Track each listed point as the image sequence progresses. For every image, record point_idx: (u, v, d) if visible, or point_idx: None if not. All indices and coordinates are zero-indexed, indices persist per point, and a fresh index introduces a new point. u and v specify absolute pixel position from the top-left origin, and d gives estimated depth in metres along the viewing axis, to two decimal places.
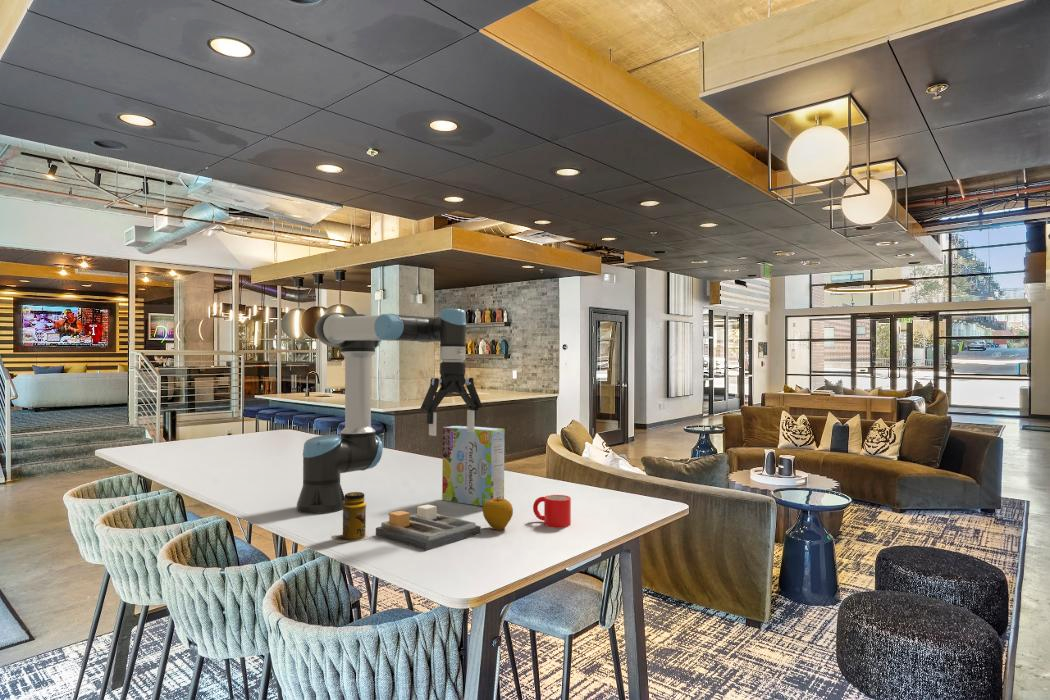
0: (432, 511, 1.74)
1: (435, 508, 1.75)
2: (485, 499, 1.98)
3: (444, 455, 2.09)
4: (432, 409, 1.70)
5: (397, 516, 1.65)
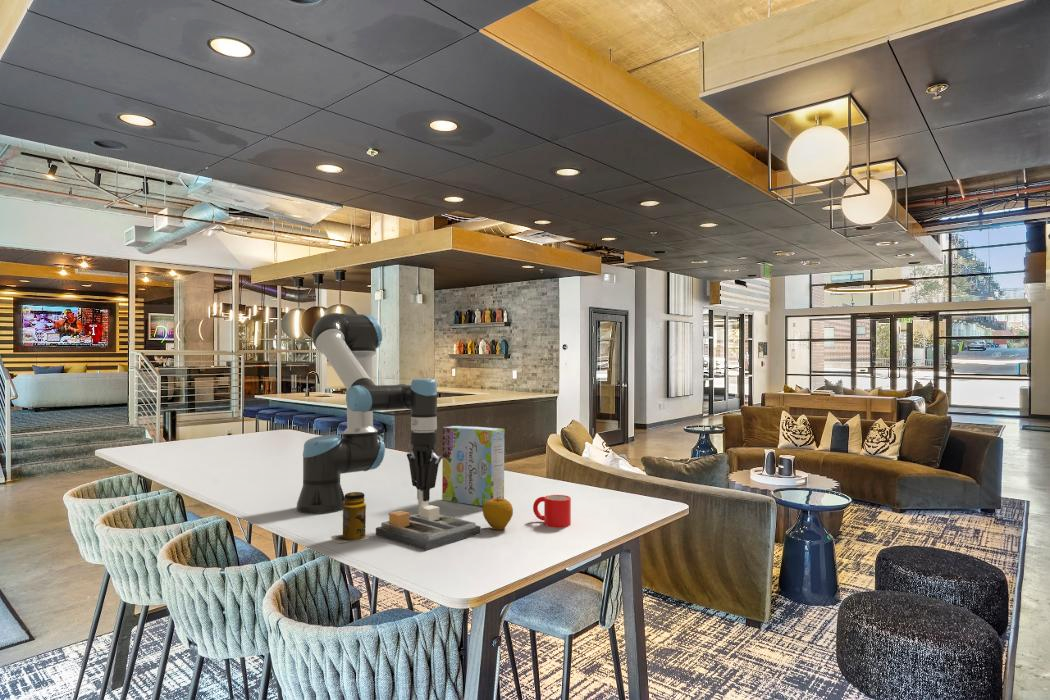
0: (435, 512, 1.73)
1: (438, 509, 1.74)
2: (485, 499, 1.98)
3: (444, 455, 2.09)
4: (416, 486, 1.76)
5: (397, 516, 1.65)
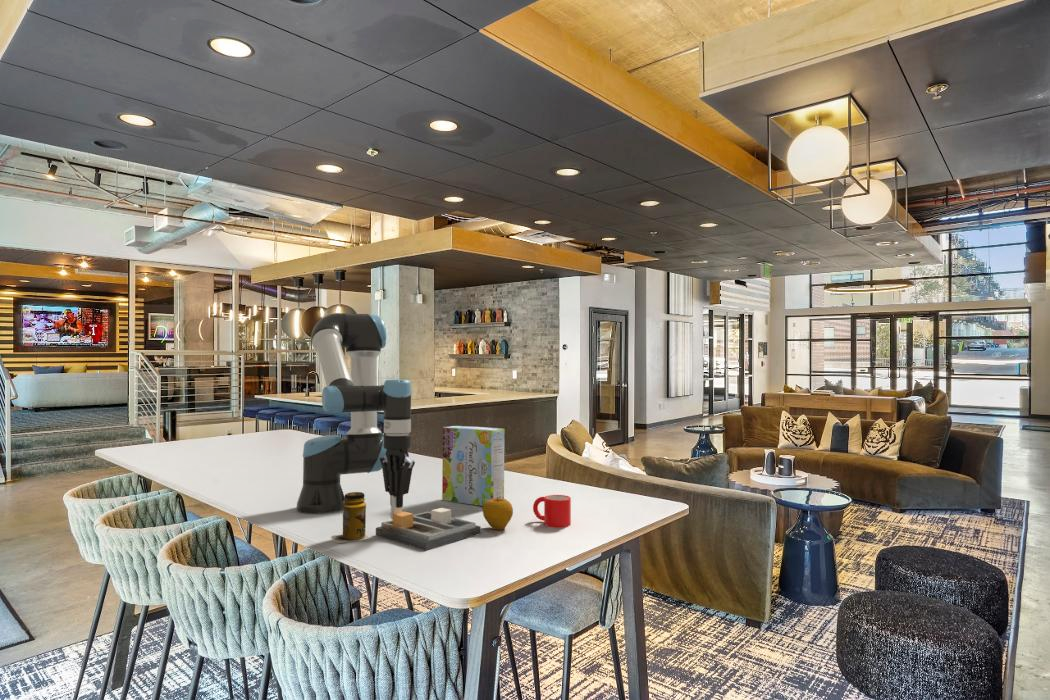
0: (447, 515, 1.70)
1: (450, 511, 1.71)
2: (485, 499, 1.98)
3: (444, 455, 2.09)
4: (389, 491, 1.68)
5: (401, 517, 1.64)
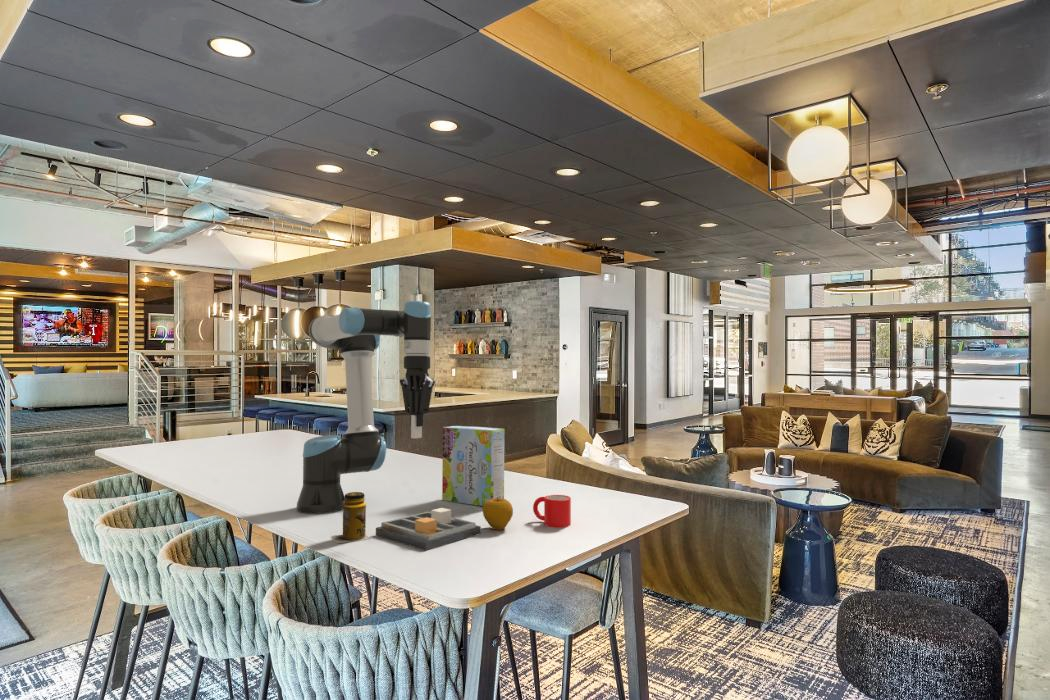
0: (447, 515, 1.70)
1: (450, 511, 1.71)
2: (485, 499, 1.98)
3: (444, 455, 2.09)
4: (409, 411, 1.71)
5: (424, 523, 1.58)
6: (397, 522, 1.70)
